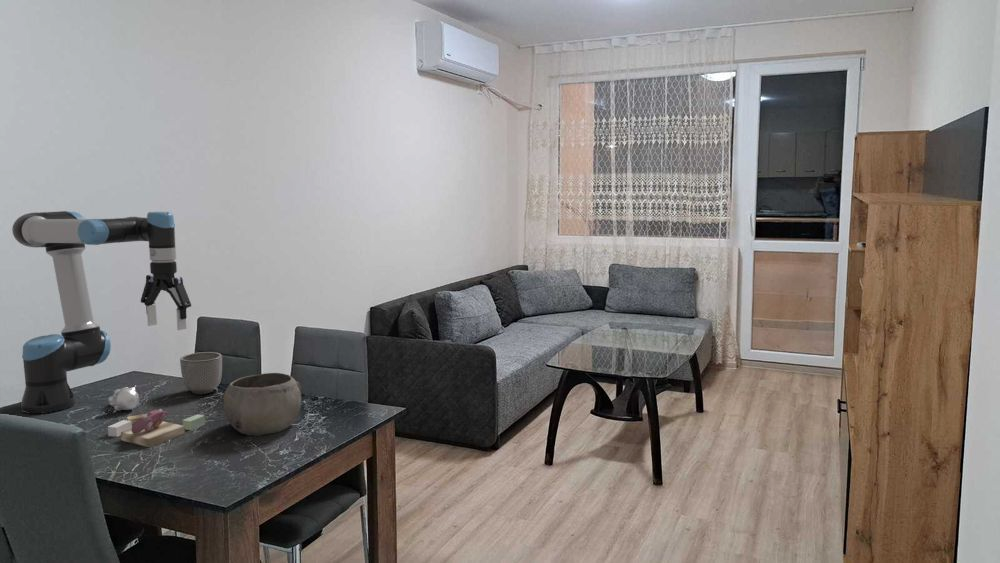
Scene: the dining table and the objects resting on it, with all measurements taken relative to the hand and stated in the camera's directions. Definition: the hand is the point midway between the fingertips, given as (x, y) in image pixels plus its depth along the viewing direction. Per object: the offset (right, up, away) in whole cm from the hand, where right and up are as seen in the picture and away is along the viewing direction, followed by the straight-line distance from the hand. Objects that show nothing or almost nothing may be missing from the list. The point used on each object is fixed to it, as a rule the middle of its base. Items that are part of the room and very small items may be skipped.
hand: (167, 327), depth 226 cm
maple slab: (+4, -31, -17) cm, 36 cm away
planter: (0, -25, +28) cm, 38 cm away
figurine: (-19, -28, +10) cm, 35 cm away
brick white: (-8, -31, -13) cm, 35 cm away
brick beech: (-6, -30, -7) cm, 31 cm away
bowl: (+33, -31, -7) cm, 46 cm away
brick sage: (+12, -30, -7) cm, 33 cm away
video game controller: (+4, -29, -17) cm, 34 cm away
